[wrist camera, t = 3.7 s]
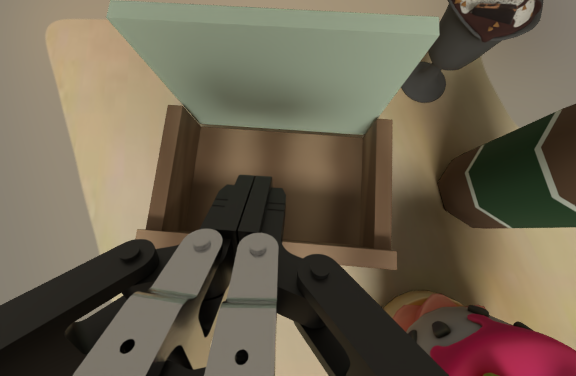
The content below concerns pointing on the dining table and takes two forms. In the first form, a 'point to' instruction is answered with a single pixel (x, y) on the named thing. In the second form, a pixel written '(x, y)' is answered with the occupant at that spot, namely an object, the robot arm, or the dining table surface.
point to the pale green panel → (277, 61)
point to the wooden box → (280, 186)
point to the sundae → (469, 39)
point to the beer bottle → (517, 177)
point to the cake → (477, 339)
